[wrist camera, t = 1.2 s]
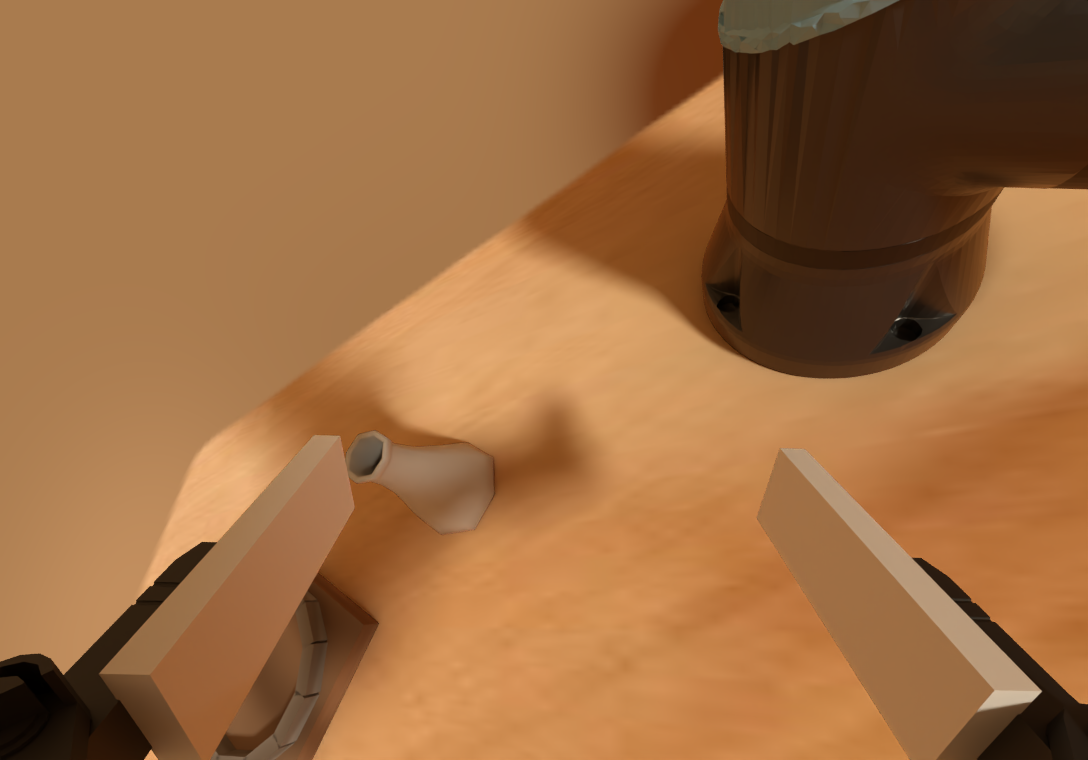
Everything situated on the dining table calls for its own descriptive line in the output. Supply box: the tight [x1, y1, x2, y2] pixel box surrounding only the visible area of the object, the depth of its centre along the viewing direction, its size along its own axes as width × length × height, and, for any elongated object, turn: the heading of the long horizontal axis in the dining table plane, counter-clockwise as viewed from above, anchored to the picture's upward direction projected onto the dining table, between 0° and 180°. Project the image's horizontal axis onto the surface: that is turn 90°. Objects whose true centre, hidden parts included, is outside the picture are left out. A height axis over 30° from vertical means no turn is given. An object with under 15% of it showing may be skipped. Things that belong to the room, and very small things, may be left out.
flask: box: [345, 430, 494, 535], centre depth 29 cm, size 7×7×10 cm
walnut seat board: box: [210, 573, 379, 760], centre depth 31 cm, size 13×13×3 cm
